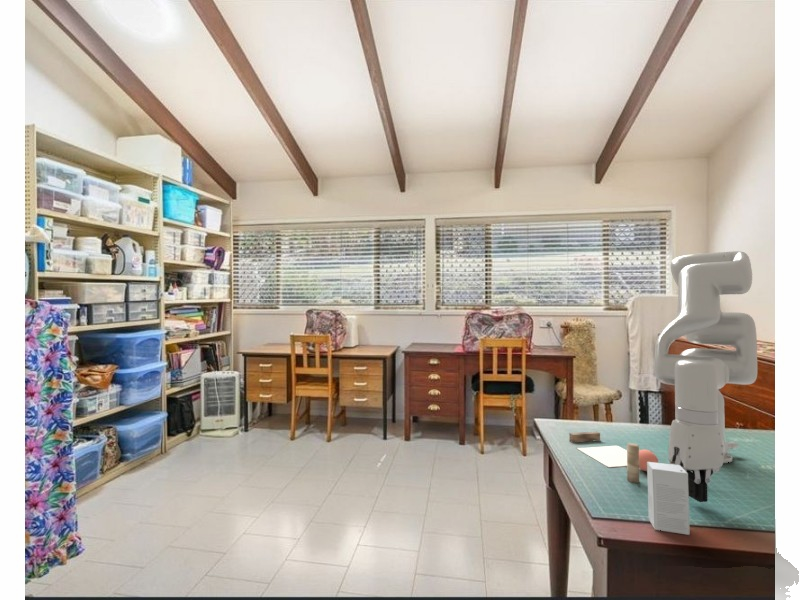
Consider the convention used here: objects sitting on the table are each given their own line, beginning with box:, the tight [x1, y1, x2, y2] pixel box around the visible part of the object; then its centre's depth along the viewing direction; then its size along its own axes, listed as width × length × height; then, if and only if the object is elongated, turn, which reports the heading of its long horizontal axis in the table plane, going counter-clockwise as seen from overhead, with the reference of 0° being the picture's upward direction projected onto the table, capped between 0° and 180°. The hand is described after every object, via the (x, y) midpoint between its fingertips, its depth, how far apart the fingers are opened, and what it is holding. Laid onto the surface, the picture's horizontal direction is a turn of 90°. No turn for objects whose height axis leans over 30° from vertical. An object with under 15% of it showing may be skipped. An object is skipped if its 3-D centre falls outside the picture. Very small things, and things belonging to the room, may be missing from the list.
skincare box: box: [646, 462, 691, 536], centre depth 76 cm, size 6×4×12 cm
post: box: [626, 442, 640, 484], centre depth 96 cm, size 3×3×9 cm
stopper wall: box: [569, 431, 601, 443], centre depth 125 cm, size 10×2×2 cm, turn 99°
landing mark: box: [576, 445, 627, 469], centre depth 112 cm, size 14×14×1 cm
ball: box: [639, 449, 659, 472], centre depth 102 cm, size 6×6×6 cm
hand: (697, 498), depth 84 cm, fingers closed
